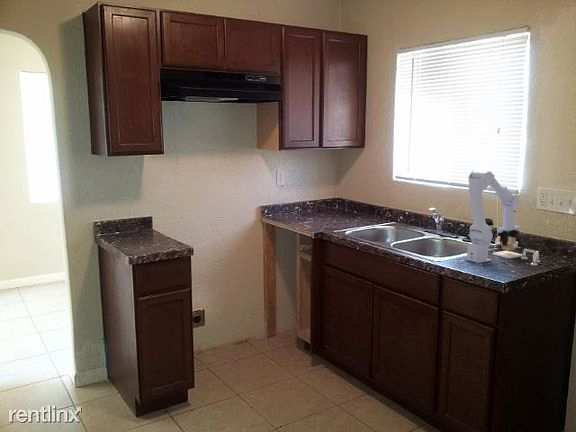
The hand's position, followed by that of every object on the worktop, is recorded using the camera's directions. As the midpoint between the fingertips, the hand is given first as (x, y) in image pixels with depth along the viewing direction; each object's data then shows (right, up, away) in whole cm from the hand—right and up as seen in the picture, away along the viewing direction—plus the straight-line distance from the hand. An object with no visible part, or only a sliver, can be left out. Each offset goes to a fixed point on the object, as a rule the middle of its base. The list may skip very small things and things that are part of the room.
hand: (507, 245), depth 259 cm
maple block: (0, -2, 0) cm, 2 cm away
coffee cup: (-4, -2, +21) cm, 22 cm away
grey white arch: (+5, -7, -12) cm, 15 cm away
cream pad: (0, -5, +1) cm, 5 cm away
